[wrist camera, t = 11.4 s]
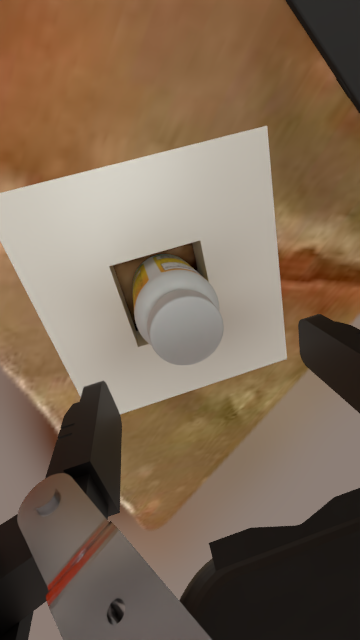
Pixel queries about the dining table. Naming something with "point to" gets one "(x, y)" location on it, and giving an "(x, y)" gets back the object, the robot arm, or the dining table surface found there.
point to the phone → (335, 38)
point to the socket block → (145, 239)
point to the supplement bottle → (176, 310)
